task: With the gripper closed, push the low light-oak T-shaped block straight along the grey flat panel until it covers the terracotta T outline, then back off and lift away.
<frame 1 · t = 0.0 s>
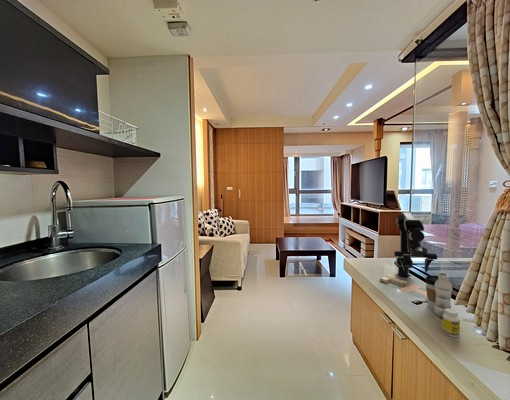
hand: (415, 271, 122), 15 cm above the table, tool pointing down, fingers open, 9 cm apart
plastic bottle: (442, 316, 108), on the table
grey flat panel: (407, 287, 138), on the table
coffee cup: (435, 307, 116), on the table
supplement bottle: (450, 333, 96), on the table
oak T block: (395, 282, 144), resting on grey flat panel
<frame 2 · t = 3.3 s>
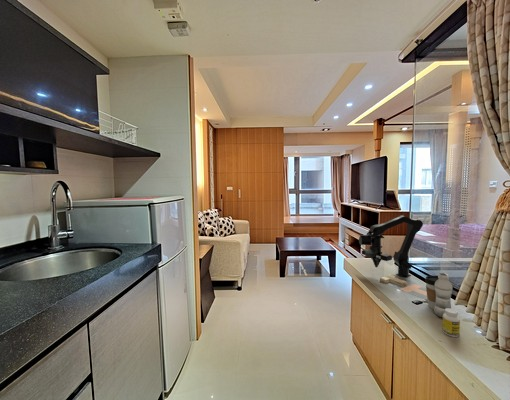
hand: (376, 267, 156), 6 cm above the table, tool pointing down, fingers closed
nothing on the table moved.
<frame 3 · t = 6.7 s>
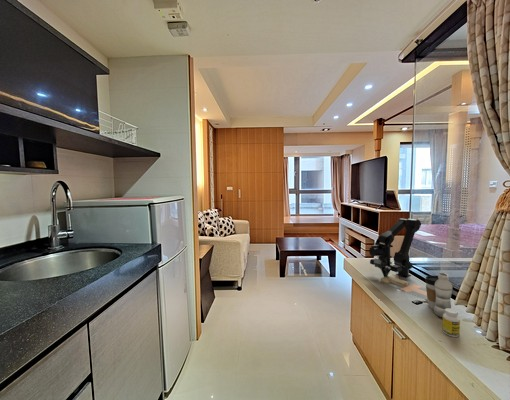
hand: (385, 277, 150), 1 cm above the table, tool pointing down, fingers closed
oak T block: (396, 282, 144), resting on grey flat panel, touching gripper
everything else where it was.
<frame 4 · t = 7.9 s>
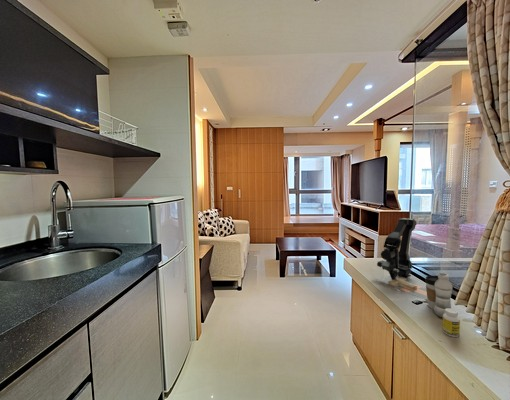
hand: (393, 280, 145), 1 cm above the table, tool pointing down, fingers closed
oak T block: (404, 285, 139), resting on grey flat panel, touching gripper
everything else where it was.
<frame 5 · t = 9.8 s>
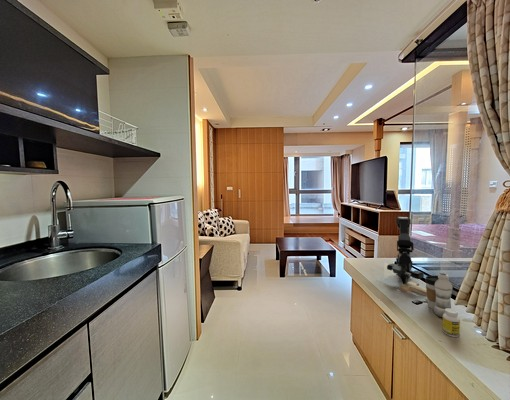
hand: (404, 284, 139), 1 cm above the table, tool pointing down, fingers closed
oak T block: (416, 290, 133), resting on grey flat panel
everything else where it was.
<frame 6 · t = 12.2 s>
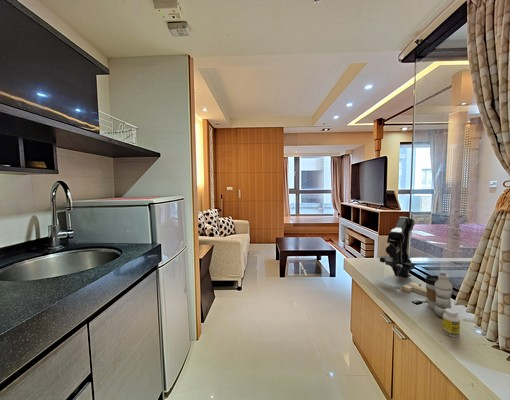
hand: (396, 276, 143), 5 cm above the table, tool pointing down, fingers closed
oak T block: (418, 291, 132), resting on grey flat panel
everything else where it was.
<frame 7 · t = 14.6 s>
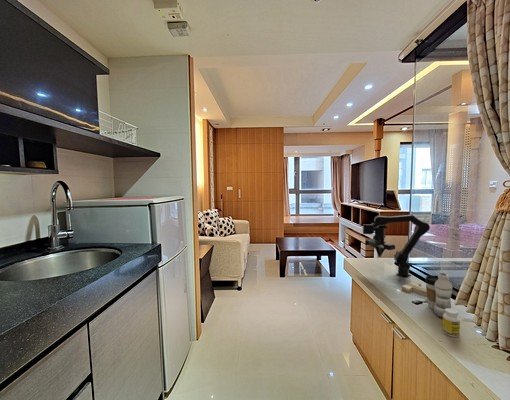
hand: (379, 256, 158), 12 cm above the table, tool pointing down, fingers closed
nothing on the table moved.
at the end: oak T block 0.3 cm from the target spot, resting on grey flat panel; oak T block moved 13.9 cm from its start; oak T block tilted 0° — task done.
